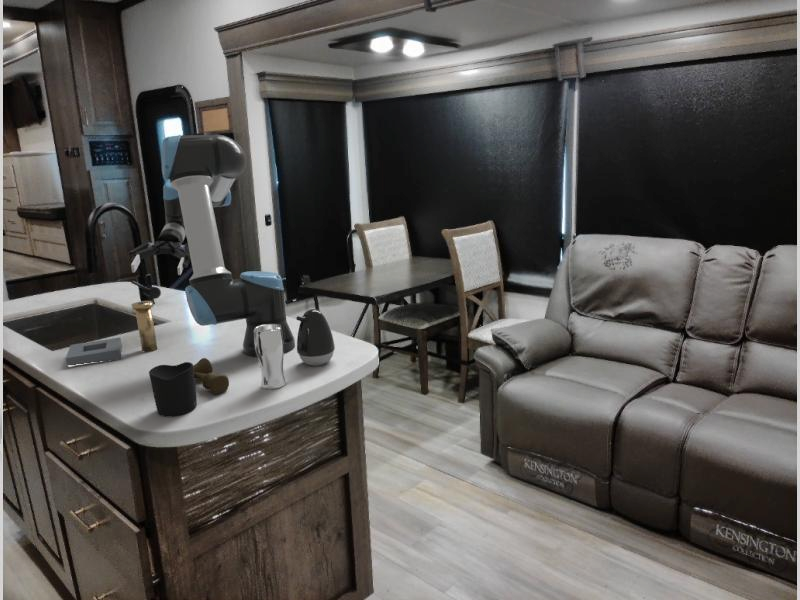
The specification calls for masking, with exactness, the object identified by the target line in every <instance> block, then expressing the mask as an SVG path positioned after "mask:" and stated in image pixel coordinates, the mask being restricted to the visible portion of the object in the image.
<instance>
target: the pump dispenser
mask: <svg viewBox="0 0 800 600" xmlns="http://www.w3.org/2000/svg"><path fill="white" fill-rule="evenodd" d="M296 321H299V322H300V324H299V327H298V332H297V341H296V353H297V354H298V356H299V358H300V359H301V361H302V362H303V363H304V364H306V365H308V366H312V367H313V366H314V367H317V366H322V365H325V364H327V363H329V362H330V361H331V360H332V358H333V355H334V353H335V352H334V351H335V349H336V347H335V345H336V344H335V341H334V337H333V333H332V330H331V328H330V324H329V323H328V321H327V318H326V317H325V316H324V314H323V312H321V311H320V310H319V309H317V308H316V309H315V308H311V309H307V310H306V311H305V312H304V313H303V315H302V316H296Z"/></svg>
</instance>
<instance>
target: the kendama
mask: <svg viewBox="0 0 800 600" xmlns="http://www.w3.org/2000/svg"><path fill="white" fill-rule="evenodd" d="M193 370H194V379H195V380H196V379H197V380H198V381H200V382H201V383H202V387H203V388H204V389H205V390H210V392H211V393H212V394H213V395H215V396H219V395H222V394H224V393H225V392H227V390H228V388H229V386H230V381H229V377H228V376H227V375H225V374H218V373H217V372H214V370H213V366H212V363H211V361H210V360H209V359H208V358H206V357H202V358H201V359H200V360H198V362H196V363H195V364H193Z"/></svg>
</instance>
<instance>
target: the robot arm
mask: <svg viewBox="0 0 800 600" xmlns="http://www.w3.org/2000/svg"><path fill="white" fill-rule="evenodd" d="M160 156H161V157H160V158H161V173H162V178H163V180H166V181H167V182H165V183H164V185H163V187H162V188H163V190H162V191H163V193H162V194H163V196H162V197H163V198H162V199H163V203H164V213H165V214H164V217H165V224H164V226H163V228H162V230H161V232H160V233H159V236H158V237H157V240H156V241H155V242H151V241H150V240H145V241H144V242H143V243H142V244H140V245H139V246H137V247H135V248H133V249H131V250H129V251H128V253H127V255H128V260H129V261H130V262H131V264H130V266H131V272H132V273H135V272H136V271H137V269H138V267H139V266H140V263H141V260H144V259H147V258H150V257H152V256H158V255H161V254H162V255H172V256H174V257H176V258H177V259H179V260H180V261H179V263H178V266H177V275H178V276H181V275H182V273H183V270H184V269H187V268H188V265H189V264H191V267H192V271H193V272H192V273H193V274H192V275H191V277H190V278H189V281H188V282H189V285H187V286H186V287H185V288H184V289H185V290H184V292H185V297H186V301H187V306H188V308H189V311H190V314H191V316H192V318H193V320H194V321H195V322H196V324H198V325H199V326H203V327H204V326H210V325H211V326H212V325H214V326H215V325H218V324H222V323H223V324H224V323H229V322H234V321H241V320H245V322H246V323H245V324H246V326H245V327H246V328H245V333H244V338H243V342H242V349H243V353H244V354H245V355H246V356H247V355H248V356H253V357H257V355H256V350H255V343H254V328H255V327H257V326H260V325H265V324H278V325H280V326H281V330H282V335H283V342H284V354H285V353H288V352H289V351H292V350H293V349H294V348H295V347H296V342H295V341H296V340H295V337H294V334H293V333H292V332H293V331H292V330H291V328H290V326H289V324H288V320H287V313H286V304H285V303H286V301H285V288H284V285H283V284H284V283H283V279H282V276H281V275H280V274H278V273H276V272H271V271H263V270H262V271H258V270H257V271H255V270H254V271H253V270H252V271H245V272H241V273H240V275H239V278H236V279H233V274H232V272H231V271H230V270H228V269H227V268H226V266H225V262H224V258H223V251H222V247H221V241H220V238H219V237H220V235H219V231H218V227H217V222H216V216H215V212H214V208H218V207H219V208H221V207H227V206H230V205H231V203H232V195H231V194H232V193H231V187H232V186H233V184H234V182H235V180H236V179H237V178H239V177H241V176H242V175H243V173H244V171H245V169H246V166H247V156H246V153H245V151H244V149H243V148H242V147H241V145H240V144H239V143H238V142H237V141H235V140H234V139H232V138H231V137H229V136H226V135H222V134H198V135H197V134H191V135H181V134H179V135H175V136H173V135H172V136H167V137H165V138H164V139H163V140H162V143H161V155H160ZM185 238H186V239H187V242H185V243H184V240H185ZM183 243H184V244H183Z"/></svg>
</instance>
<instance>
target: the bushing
mask: <svg viewBox="0 0 800 600" xmlns="http://www.w3.org/2000/svg"><path fill="white" fill-rule="evenodd" d="M152 307H154V301H153V300H142V301H137V302H132V304H131V309H132V310H134V311H135V316H136V321H137V328H138V333H139V334H138V335H139V339H140V347H141V351H142V352H143V351H144V352H143V353H149V352H151V353H152V352H154V351H156V350H158V345H157V344H158V343H157V342H158V341H157V338H156V337H157V336H156V331H155V325H154V319H153V313H152Z"/></svg>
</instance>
